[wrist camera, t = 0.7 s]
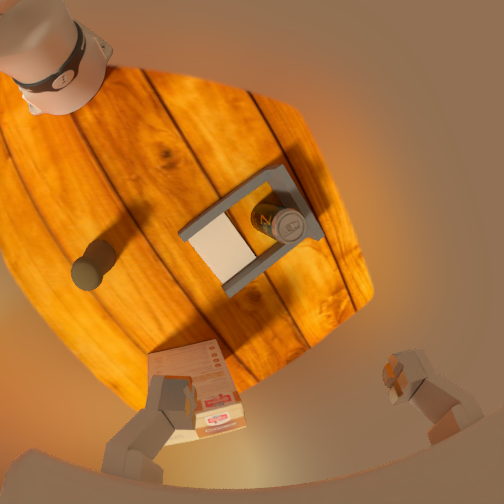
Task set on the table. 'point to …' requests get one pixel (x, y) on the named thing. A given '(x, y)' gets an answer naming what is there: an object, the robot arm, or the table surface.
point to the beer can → (278, 222)
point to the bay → (229, 240)
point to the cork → (93, 265)
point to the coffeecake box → (202, 388)
